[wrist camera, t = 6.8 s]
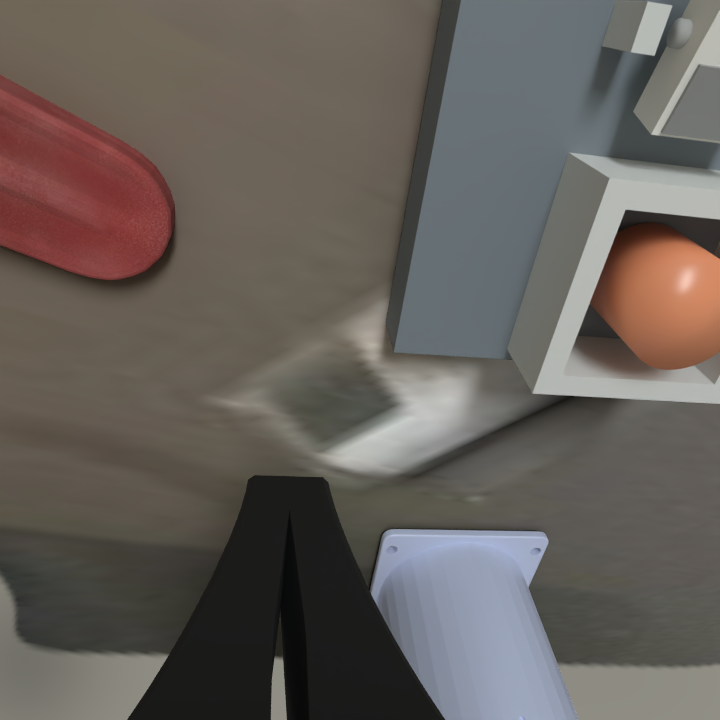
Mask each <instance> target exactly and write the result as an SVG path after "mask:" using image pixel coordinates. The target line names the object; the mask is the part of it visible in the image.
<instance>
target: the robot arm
mask: <svg viewBox="0 0 720 720" xmlns="http://www.w3.org/2000/svg"><path fill="white" fill-rule="evenodd" d="M547 545H548V539H547V537H546V535H545V533H543V532H539V531H483V530H421V529H390V530H388V531H386V532H385V533H383V535H382V538H381V542H380V547H379V551H378V556H377V560H376V565H375V569H374V574H373V578H372V583H371V587H370V591H369V589H368V587H367V584H366V582H365V580H364V578H363V576H362V573H361V571H360V569H359V567H358V565H357V562H356V560H355V558H354V556H353V554H352V551H351V549H350V546H349V544H348V542H347V539H346V537H345V534H344V531H343V529H342V526H341V523H340V521H339V518H338V515H337V512H336V509H335V506H334V503H333V499H332V496H331V492H330V488H329V484H328V482H327V481H326V480H325V479H324V478H323V477H292V476H258V475H255V476H253V477H252V478H250V479H249V480H248V484H247V489H246V493H245V497H244V500H243V504H242V507H241V510H240V513H239V515H238V518H237V521H236V523H235V526H234V528H233V531H232V534H231V536H230V539H229V541H228V543H227V545H226V547H225V550H224V552H223V554H222V556H221V558H220V561H219V563H218V565H217V567H216V569H215V572H214V574H213V576H212V578H211V580H210V582H209V584H208V586H207V588H206V590H205V591H204V593H203V595H202V597H201V599H200V601H199V603H198V605H197V606H196V608H195V610H194V612H193V614H192V616H191V618H190V619H189V621H188V623H187V625H186V627H185V629H184V630H183V632H182V634H181V636H180V637H179V639H178V641H177V642H176V644H175V646H174V648H173V649H172V651H171V653H170V654H169V656H168V658H167V659H166V661H165V663H164V664H163V666H162V667H161V669H160V671H159V672H158V674H157V675H156V677H155V678H154V680H153V682H152V683H151V685H150V686H149V688H148V690H147V691H146V693H145V694H144V696H143V697H142V699H141V700H140V702H139V703H138V705H137V706H136V708H135V709H134V711H133V712H132V713H131V715H130V716H129V718H128V720H271V685H272V683H271V682H272V672H273V664H274V656H275V648H276V639H277V631H278V623H279V615H280V609H281V627H282V644H283V661H284V678H285V694H286V711H287V720H579V719H578V716H577V714H576V711H575V709H574V706H573V703H572V701H571V698H570V696H569V693H568V690H567V688H566V685H565V683H564V680H563V677H562V675H561V672H560V669H559V667H558V664H557V662H556V659H555V656H554V654H553V651H552V649H551V646H550V643H549V641H548V638H547V636H546V633H545V630H544V628H543V625H542V623H541V620H540V617H539V615H538V612H537V609H536V607H535V604H534V602H533V599H532V596H531V594H530V591H529V589H528V587H529V585H530V582H531V580H532V578H533V576H534V574H535V571H536V569H537V567H538V565H539V563H540V560H541V558H542V556H543V554H544V552H545V549H546V547H547ZM390 546H392V547H390Z"/></svg>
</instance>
